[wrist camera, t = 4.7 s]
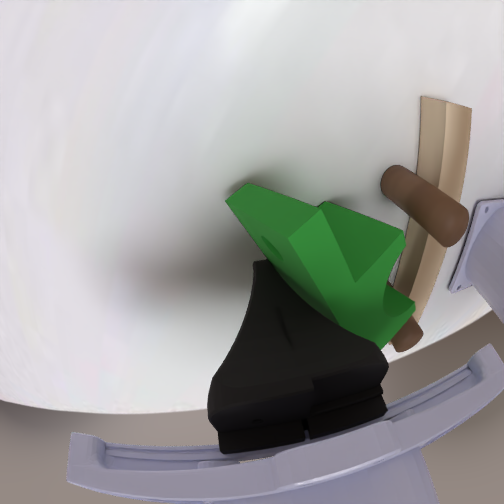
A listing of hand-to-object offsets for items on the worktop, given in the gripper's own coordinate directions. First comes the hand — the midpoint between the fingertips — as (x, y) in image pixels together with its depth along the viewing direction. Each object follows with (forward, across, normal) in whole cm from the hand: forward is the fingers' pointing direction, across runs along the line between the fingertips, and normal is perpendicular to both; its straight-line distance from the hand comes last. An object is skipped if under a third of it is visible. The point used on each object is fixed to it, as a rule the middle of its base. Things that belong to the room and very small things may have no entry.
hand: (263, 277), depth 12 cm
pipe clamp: (+1, -3, 0) cm, 3 cm away
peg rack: (+1, -8, 0) cm, 8 cm away
